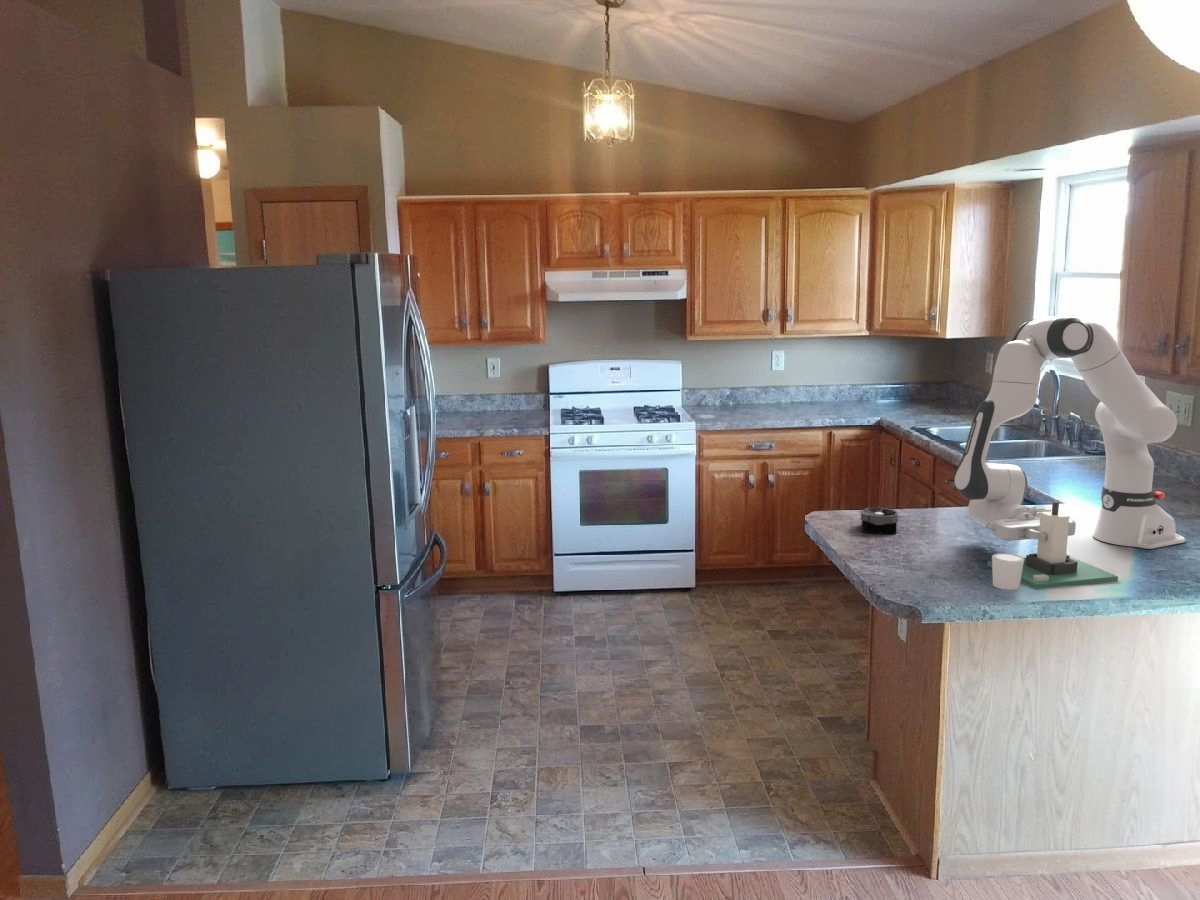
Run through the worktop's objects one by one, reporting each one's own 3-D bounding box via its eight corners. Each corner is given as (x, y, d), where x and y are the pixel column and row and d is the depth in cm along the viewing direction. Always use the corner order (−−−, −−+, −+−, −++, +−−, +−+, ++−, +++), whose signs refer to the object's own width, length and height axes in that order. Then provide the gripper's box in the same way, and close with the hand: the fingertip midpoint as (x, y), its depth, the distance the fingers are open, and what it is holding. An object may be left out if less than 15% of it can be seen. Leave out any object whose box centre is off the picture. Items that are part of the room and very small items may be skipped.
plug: (1050, 558, 217) (1055, 499, 214) (1065, 564, 212) (1070, 504, 209) (1036, 559, 216) (1041, 500, 213) (1050, 565, 211) (1055, 505, 208)
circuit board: (1063, 558, 226) (1064, 544, 225) (1117, 581, 208) (1119, 566, 208) (987, 565, 221) (988, 551, 220) (1036, 589, 204) (1037, 574, 203)
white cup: (985, 586, 207) (987, 557, 205) (997, 578, 211) (998, 550, 210) (1015, 592, 202) (1017, 563, 200) (1026, 585, 206) (1028, 556, 205)
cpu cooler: (896, 507, 257) (899, 516, 247) (896, 526, 258) (898, 536, 248) (860, 506, 260) (861, 514, 250) (859, 524, 261) (860, 534, 251)
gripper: (982, 512, 223) (1018, 527, 209) (1052, 507, 227) (1092, 521, 213) (980, 536, 224) (1016, 552, 210) (1050, 531, 228) (1090, 546, 215)
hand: (1055, 536), depth 212 cm, fingers closed on plug, 4 cm apart
